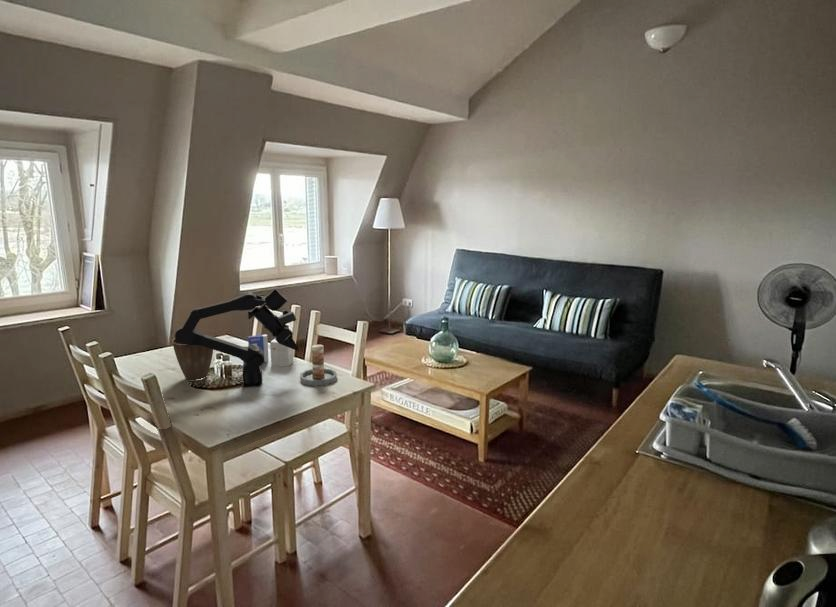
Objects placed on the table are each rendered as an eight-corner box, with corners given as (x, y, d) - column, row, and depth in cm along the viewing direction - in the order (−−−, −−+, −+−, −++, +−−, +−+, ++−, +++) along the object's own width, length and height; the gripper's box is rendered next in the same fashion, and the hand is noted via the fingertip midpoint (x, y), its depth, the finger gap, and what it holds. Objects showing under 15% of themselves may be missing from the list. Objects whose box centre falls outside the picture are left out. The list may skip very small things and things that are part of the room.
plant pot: (177, 373, 197) (174, 335, 194) (217, 369, 202) (214, 332, 199) (173, 387, 183) (170, 346, 180) (216, 382, 189) (213, 342, 185)
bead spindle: (315, 380, 191) (314, 348, 188) (310, 377, 194) (309, 345, 192) (326, 378, 194) (326, 346, 191) (321, 374, 197) (320, 343, 195)
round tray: (300, 386, 186) (299, 381, 186) (300, 373, 199) (300, 369, 199) (337, 384, 189) (337, 379, 188) (335, 372, 202) (335, 367, 202)
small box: (293, 362, 213) (292, 338, 211) (289, 366, 208) (288, 342, 206) (275, 361, 214) (274, 338, 212) (270, 365, 209) (269, 341, 206)
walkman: (250, 364, 210) (248, 337, 207) (249, 362, 212) (247, 335, 210) (269, 361, 213) (268, 335, 211) (268, 359, 216) (266, 333, 213)
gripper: (287, 307, 178) (316, 337, 183) (280, 301, 195) (307, 329, 200) (263, 328, 175) (294, 358, 181) (259, 321, 192) (287, 348, 198)
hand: (296, 347), depth 190 cm, fingers open, 9 cm apart
